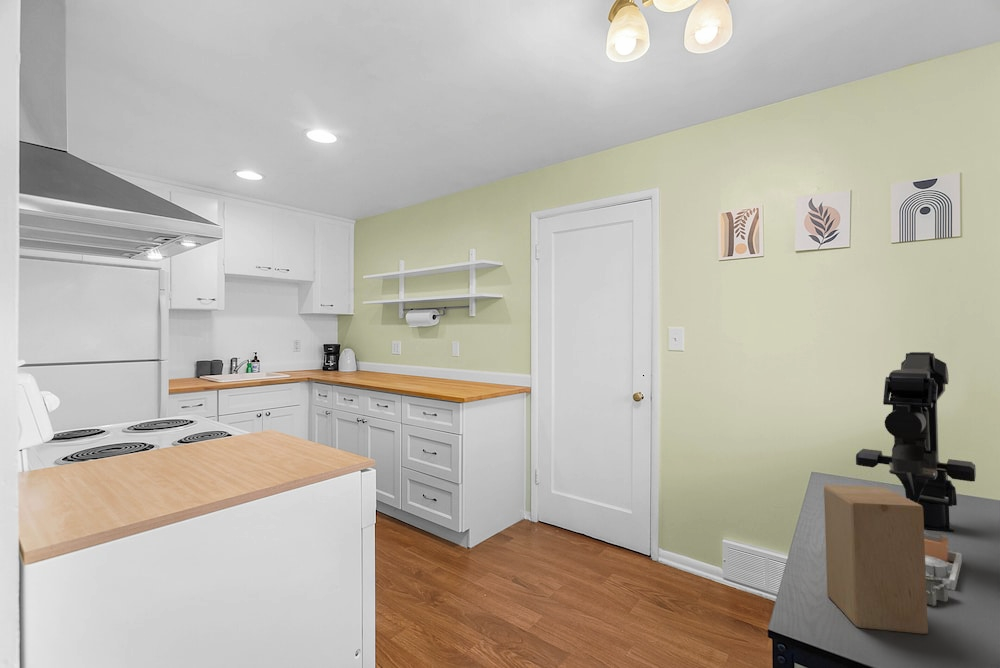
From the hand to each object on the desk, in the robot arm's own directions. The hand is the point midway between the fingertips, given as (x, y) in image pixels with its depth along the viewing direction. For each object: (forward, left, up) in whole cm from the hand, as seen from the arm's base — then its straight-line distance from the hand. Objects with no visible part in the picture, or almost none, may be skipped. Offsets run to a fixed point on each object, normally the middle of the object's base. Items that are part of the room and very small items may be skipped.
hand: (914, 504), depth 99 cm
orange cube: (-2, +3, -11) cm, 12 cm away
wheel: (+3, +10, -10) cm, 14 cm away
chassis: (+1, +6, -11) cm, 12 cm away
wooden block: (+20, +27, -11) cm, 35 cm away
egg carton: (+10, +16, -11) cm, 22 cm away
